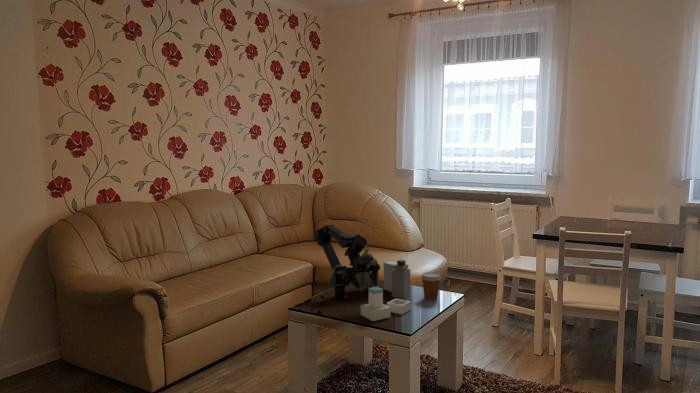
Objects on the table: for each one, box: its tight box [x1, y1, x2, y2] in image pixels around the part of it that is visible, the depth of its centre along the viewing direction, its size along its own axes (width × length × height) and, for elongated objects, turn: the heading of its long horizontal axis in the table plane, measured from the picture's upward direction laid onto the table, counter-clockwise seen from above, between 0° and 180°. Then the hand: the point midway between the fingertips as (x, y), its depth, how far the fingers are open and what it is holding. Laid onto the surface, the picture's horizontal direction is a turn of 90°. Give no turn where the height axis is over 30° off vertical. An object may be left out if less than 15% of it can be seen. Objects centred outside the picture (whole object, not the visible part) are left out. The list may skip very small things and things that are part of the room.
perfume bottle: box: [391, 259, 411, 300], centre depth 255 cm, size 7×7×18 cm
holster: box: [386, 297, 412, 315], centre depth 233 cm, size 8×8×4 cm
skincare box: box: [383, 260, 397, 293], centre depth 264 cm, size 8×6×15 cm
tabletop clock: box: [355, 243, 379, 293], centre depth 261 cm, size 14×9×25 cm, turn 15°
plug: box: [368, 286, 384, 309], centre depth 225 cm, size 5×5×12 cm
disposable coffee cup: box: [421, 272, 442, 301], centre depth 251 cm, size 10×10×12 cm
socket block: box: [360, 303, 392, 322], centre depth 226 cm, size 10×10×4 cm
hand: (368, 287), depth 230 cm, fingers open, 9 cm apart
